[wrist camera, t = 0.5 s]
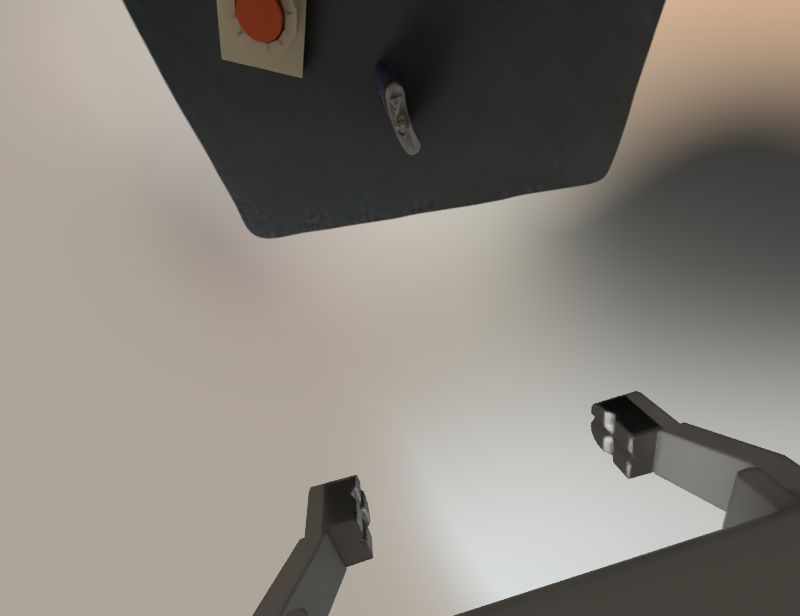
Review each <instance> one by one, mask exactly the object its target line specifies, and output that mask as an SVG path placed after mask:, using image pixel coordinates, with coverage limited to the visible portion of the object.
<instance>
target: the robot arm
mask: <svg viewBox="0 0 800 616" xmlns="http://www.w3.org/2000/svg"><path fill="white" fill-rule="evenodd" d="M591 413H592V414H593V415H594V416H595V419H594V420H593V421H592V423H591V430H592V433H593V436H594V439H595V440H596V442H597V444H598V445H599V446H600V447H601V449H602V450H603V451H605V452H607V453H610V454H611V455H613V462H614V463H615V465H616V466H617V467H618V468H619V469H620V470H621V471H622V472H623V473H624V475H625V476H626V477H627V478H628V479H629V478H634V477H637V476H641V475H644V474H648V473H651V472H654V473H655V474H657V475H658V476H660V477H662V478H664V479H666V480H668V481H670V482H672V483H673V484H675V485H677V486H679V487H681V488H683V489H685V490H687V491H688V492H690V493H692V494H694V495H696V496H698V497H700V498H701V499H703V500H705V501H707V502H709V503H711V504H713V505H714V506H716V507H718V508H720V509H722V510H724V511H726V514H725V518H724V521H723V526H722V529H721V530H718V531H715V532H712V533H709V534H706V535H703V536H699V537H696V538H693V539H690V540H687V541H684V542H681V543H678V544H675V545H672V546H668V547H665V548H662V549H659V550H656V551H653V552H650V553H647V554H644V555H640V556H637V557H634V558H632V559H628V560H625V561H622V562H619V563H616V564H612V565H609V566H606V567H603V568H600V569H597V570H594V571H591V572H588V573H585V574H581V575H578V576H575V577H572V578H569V579H566V580H563V581H560V582H557V583H553V584H550V585H547V586H544V587H541V588H538V589H535V590H532V591H529V592H526V593H523V594H520V595H516V596H513V597H510V598H507V599H504V600H501V601H498V602H495V603H492V604H489V605H485V606H482V607H479V608H476V609H473V610H470V611H467V612H464V613H460V614H457V615H454V616H800V465H798V464H797V463H795V462H794V461H792V460H791V459H789V458H788V457H786V456H785V455H782V454H779V453H776V452H773V451H770V450H767V449H764V448H761V447H757V446H755V445H751V444H748V443H745V442H742V441H739V440H736V439H733V438H730V437H727V436H724V435H721V434H718V433H715V432H712V431H709V430H706V429H703V428H700V427H697V426H693V425H690V424H687V423H681V424H680V423H678V422H677V421H676V420H675V419H673V418H672V417H671V416H670V415H668V414H667V413H666V412H665V411H663V410H662V409H661V408H659V407H658V406H657V405H656V404H654V403H653V402H652V401H651V400H649V399H648V398H647V397H646V396H644V395H643V394H642V393H640V392H637V391H635V392H632V393H628V394H625V395H622V396H618V397H615V398H611V399H608V400H605V401H602V402H599V403H595V404H593V406H592V411H591ZM369 523H370V516H369V509H368V503H367V500H366V497H365V494H364V491H362V490H360V481H359V479H358V477H357V475H354V476H350V477H347V478H343V479H339V480H335V481H332V482H328V483H325V484H322V485H318V486H314V487H311V489H310V491H309V496H308V507H307V519H306V530H305V538H302V539H300V540H299V542H298V543H297V545H296V547H295V548H294V550H293V552H292V553H291V555H290V556H289V558H288V559H287V561H286V563H285V564H284V566H283V567H282V569H281V571H280V572H279V574H278V576H277V577H276V579H275V580H274V582H273V584H272V585H271V587H270V589H269V590H268V592H267V593H266V595H265V596H264V598H263V600H262V601H261V603H260V604H259V606H258V608H257V609H256V611H255V613H254V614H253V616H328V614H329V612H330V609H331V607H332V604H333V602H334V599H335V597H336V595H337V592H338V590H339V587H340V585H341V582H342V579H343V577H344V575H345V572H346V567H348V566H351V565H354V564H357V563H360V562H363V561H365V560H369V559H372V558H373V551H372V539H371V534H370V532H369V529H368V525H369Z"/></svg>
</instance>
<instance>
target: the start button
mask: <svg viewBox="0 0 800 616" xmlns="http://www.w3.org/2000/svg"><path fill="white" fill-rule="evenodd" d="M236 14H237V18H238V21H239V24H240V25H241V27H242V29H243V30H244V31H245V33H246V34H247V35H248V36H249V37H251V38H252V39H254V40H256V41H258V42H262V43H267V42H271V41H273V40H274V39H276V38H277V36H278V35H279V33H280V31H281V28H282V23H283V14H282V10H281V7H280V4H279V2H278V0H237V2H236Z"/></svg>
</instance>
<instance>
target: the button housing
mask: <svg viewBox="0 0 800 616" xmlns="http://www.w3.org/2000/svg"><path fill="white" fill-rule="evenodd" d="M306 1H307V0H278V2H279V4H280V7H281V10H282V14H283V23H282V28H281V31H280V33H279V35H278V36H277V38H276V39H274V40H273V41H271V42H267V43H262V42H258V41H256V40H254V39H252V38H251V37H249V36H248V35H247V34H246V33H245V31H244V30H243V29H242V27H241V25H240V24H239V21H238V18H237V14H236V2H237V0H217V10H218V22H219V33H220V44H221V56H222V59H223V60H227V61H232V62H236V63H240V64H245V65H249V66H253V67H257V68H262V69H266V70H270V71H275V72H279V73H283V74H287V75H292V76H296V77H300V78H302V77H303V61H304V41H305V21H306Z"/></svg>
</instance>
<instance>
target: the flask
mask: <svg viewBox="0 0 800 616" xmlns="http://www.w3.org/2000/svg"><path fill="white" fill-rule="evenodd" d="M374 72H375V81H376V84H377V89H378V93H379V96H380V98H381V101H382V103H383V105H384V107H385V110H386V113H387V115H388V118H389V120H390V123H391V126H392V129H393V131H394V133H395V135H396V137H397V139H398V141H399V143H400V144H401V146H402V148H403V149H404V151H405V152H406V153H407V154H408V155H415V154H417V153H418V152H419V151H420V149H421V141H420V138H419V136H418V135H417V133H416V131H415V129H414V127H413V125H412V123H411V119H410V116H409V113H408V110H407V105H406V98H405V91H404V88H403V86H402V84H401V83H400V81H399V79H398V77H397V75H396V74H395V72H394V70H393V69H392V66H391V64H390V63H388V62H387V61H385V60H383V61H380V62H378V63H377V64H376V66H375V70H374Z"/></svg>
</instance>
